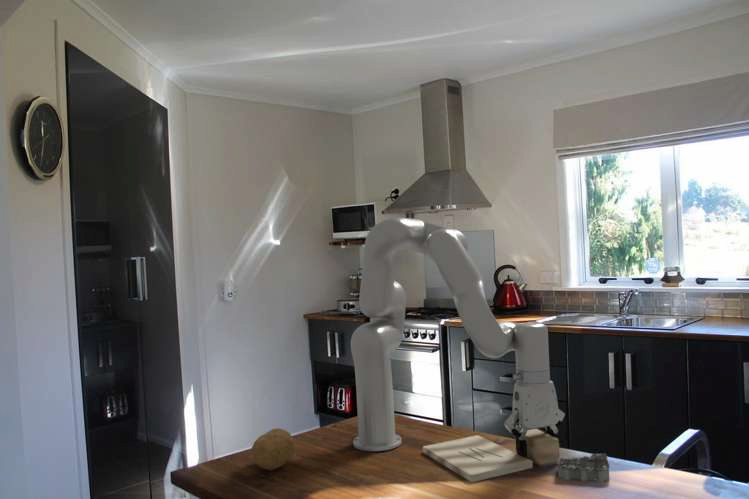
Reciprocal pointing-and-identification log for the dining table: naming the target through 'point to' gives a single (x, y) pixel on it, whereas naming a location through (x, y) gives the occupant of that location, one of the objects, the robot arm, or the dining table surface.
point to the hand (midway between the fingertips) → (536, 452)
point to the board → (477, 458)
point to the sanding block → (542, 447)
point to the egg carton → (584, 467)
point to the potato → (273, 449)
